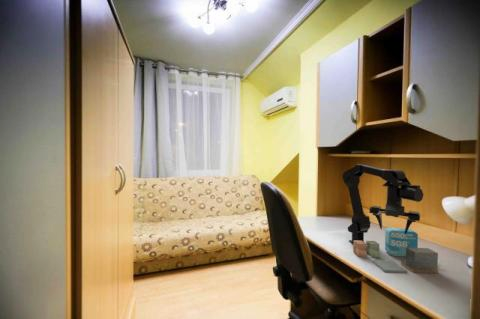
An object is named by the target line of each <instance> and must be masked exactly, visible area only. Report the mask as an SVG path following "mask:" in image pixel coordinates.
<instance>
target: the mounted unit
mask: <svg viewBox="0 0 480 319" xmlns="http://www.w3.org/2000/svg"><path fill="white" fill-rule="evenodd" d="M438 258H439V253H438V252H437V251H435V250H433V249H430V248H428V247H418V248H406V257H405V261H401V263H400V264H401V265H400V266H402V267H403V268H405V269H406V270H408V271H409V272H410V271H411V273H413V274H439V272H440V271H439V269H438V267H439V266H438V265H439V263H438Z"/></svg>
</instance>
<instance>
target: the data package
mask: <svg viewBox="0 0 480 319" xmlns="http://www.w3.org/2000/svg"><path fill="white" fill-rule="evenodd" d="M384 234H385V235H384V250H385V251H386V253H388V254H389V256H393V257H404V258H406V248H419V247H418V245H419V244H418V242H419V238H418V237H419V235H418V233H417V232H415V231H414V230H412V229H410V228H409V229H408V231H407V233H406V234H405V228H399V227H397V228H396V227H387V228H385V232H384Z"/></svg>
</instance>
